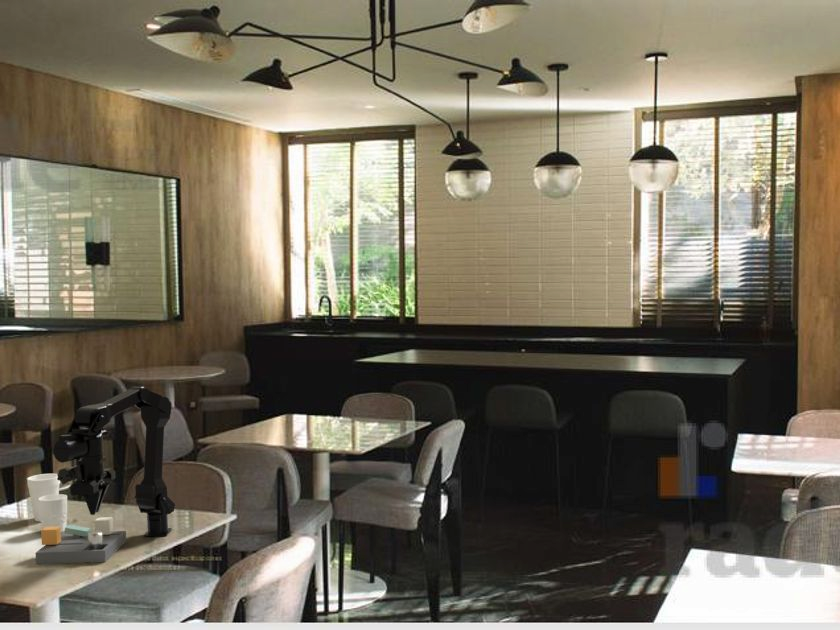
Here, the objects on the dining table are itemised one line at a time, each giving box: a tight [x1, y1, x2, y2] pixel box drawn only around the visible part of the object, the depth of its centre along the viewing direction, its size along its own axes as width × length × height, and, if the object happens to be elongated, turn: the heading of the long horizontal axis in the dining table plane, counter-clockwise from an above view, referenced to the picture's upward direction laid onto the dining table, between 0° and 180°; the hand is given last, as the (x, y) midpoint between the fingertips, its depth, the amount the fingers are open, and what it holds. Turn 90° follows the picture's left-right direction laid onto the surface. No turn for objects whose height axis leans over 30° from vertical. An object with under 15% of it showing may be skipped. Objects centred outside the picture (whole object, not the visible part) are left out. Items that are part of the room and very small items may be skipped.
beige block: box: [94, 516, 114, 535], centre depth 254 cm, size 3×4×4 cm
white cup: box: [38, 493, 68, 533], centre depth 270 cm, size 8×8×10 cm
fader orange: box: [40, 527, 62, 546], centre depth 246 cm, size 3×4×4 cm
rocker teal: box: [63, 524, 91, 537], centre depth 253 cm, size 3×6×2 cm, turn 91°
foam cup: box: [26, 473, 61, 522], centre depth 284 cm, size 10×9×13 cm
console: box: [35, 530, 127, 565], centre depth 248 cm, size 18×18×4 cm
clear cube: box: [88, 530, 103, 550], centre depth 243 cm, size 4×4×4 cm
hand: (94, 513), depth 242 cm, fingers open, 2 cm apart
